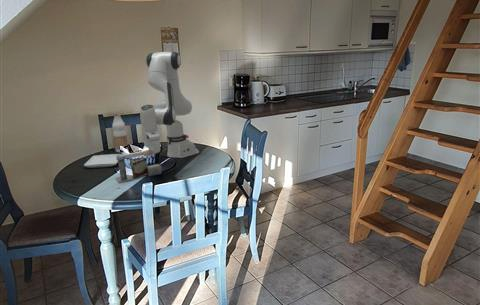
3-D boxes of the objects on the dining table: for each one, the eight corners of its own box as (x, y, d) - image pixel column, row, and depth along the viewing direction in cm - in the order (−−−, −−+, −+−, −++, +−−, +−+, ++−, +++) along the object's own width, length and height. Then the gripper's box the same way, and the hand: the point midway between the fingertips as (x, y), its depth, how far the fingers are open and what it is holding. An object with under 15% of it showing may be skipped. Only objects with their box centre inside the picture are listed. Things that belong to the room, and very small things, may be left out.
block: (159, 171, 231) (158, 163, 229) (161, 173, 227) (160, 165, 225) (146, 174, 227) (145, 166, 226) (149, 176, 223) (148, 168, 222)
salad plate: (93, 159, 260) (93, 155, 259) (124, 157, 261) (123, 153, 260) (83, 170, 239) (82, 165, 238) (117, 168, 241) (116, 163, 240)
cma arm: (117, 161, 212) (117, 157, 211) (115, 158, 217) (115, 155, 216) (159, 153, 223) (158, 149, 223) (155, 150, 228) (155, 147, 228)
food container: (141, 171, 232) (139, 156, 229) (148, 172, 229) (146, 157, 226) (126, 177, 222) (124, 162, 219) (134, 179, 219) (131, 163, 216)
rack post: (129, 176, 224) (126, 156, 221) (132, 180, 218) (129, 159, 214) (115, 179, 221) (112, 159, 217) (118, 183, 214) (115, 162, 210)
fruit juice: (115, 153, 270) (110, 115, 262) (115, 149, 279) (109, 113, 270) (129, 151, 273) (124, 114, 265) (128, 148, 282) (123, 112, 273)
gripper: (139, 130, 221) (142, 152, 225) (150, 138, 204) (153, 161, 208) (149, 129, 224) (152, 150, 228) (161, 136, 207) (163, 159, 211)
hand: (152, 156), depth 218 cm, fingers closed
